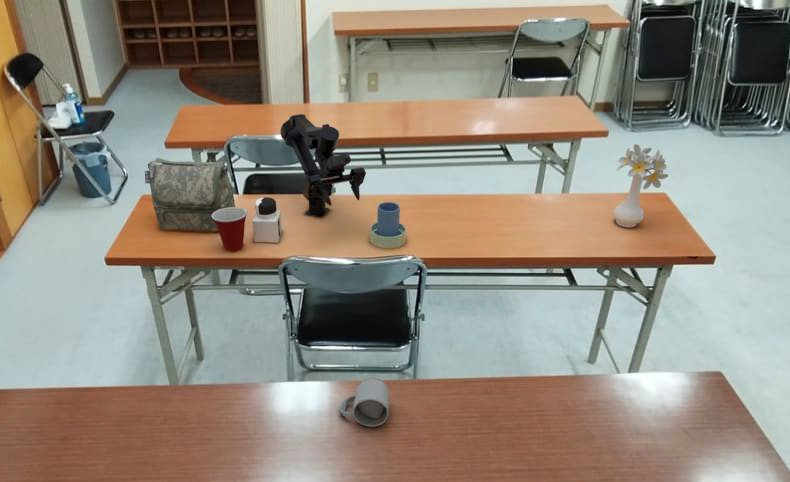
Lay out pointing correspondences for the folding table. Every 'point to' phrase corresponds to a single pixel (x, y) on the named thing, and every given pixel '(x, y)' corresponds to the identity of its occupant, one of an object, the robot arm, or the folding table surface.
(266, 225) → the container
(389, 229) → the tumbler
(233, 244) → the plastic cup
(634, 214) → the flower vase
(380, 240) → the bowl
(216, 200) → the lunch bag
